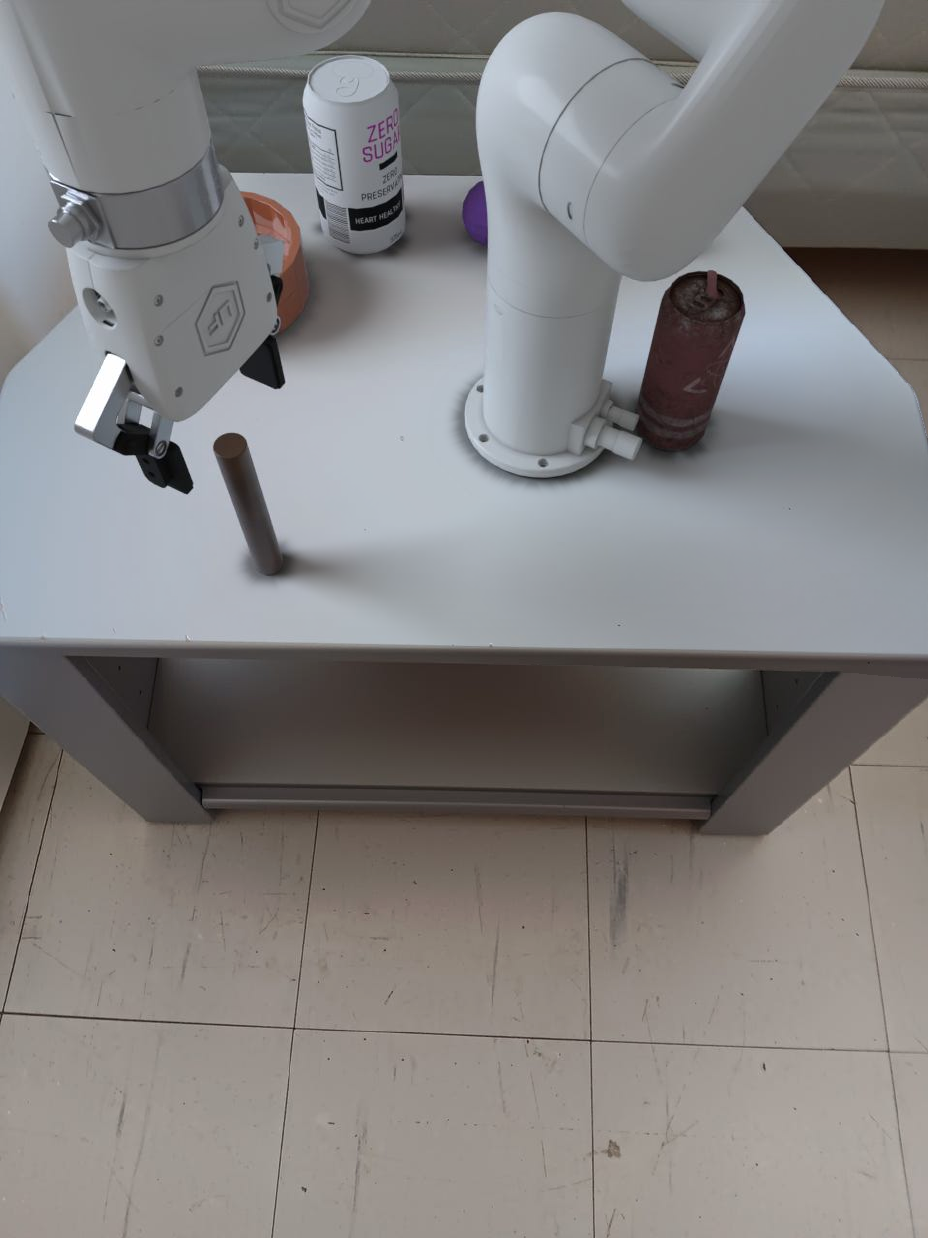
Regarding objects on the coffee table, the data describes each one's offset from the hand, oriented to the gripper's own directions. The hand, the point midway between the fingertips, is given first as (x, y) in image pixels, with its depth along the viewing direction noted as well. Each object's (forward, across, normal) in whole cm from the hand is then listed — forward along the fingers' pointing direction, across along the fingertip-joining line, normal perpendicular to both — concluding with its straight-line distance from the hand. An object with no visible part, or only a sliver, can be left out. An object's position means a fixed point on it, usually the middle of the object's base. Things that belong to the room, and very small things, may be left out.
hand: (219, 429), depth 58 cm
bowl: (+16, +24, +20) cm, 34 cm away
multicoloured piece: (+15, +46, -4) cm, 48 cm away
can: (+15, +28, -22) cm, 39 cm away
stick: (+16, 0, 0) cm, 16 cm away
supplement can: (+16, +38, +14) cm, 43 cm away
